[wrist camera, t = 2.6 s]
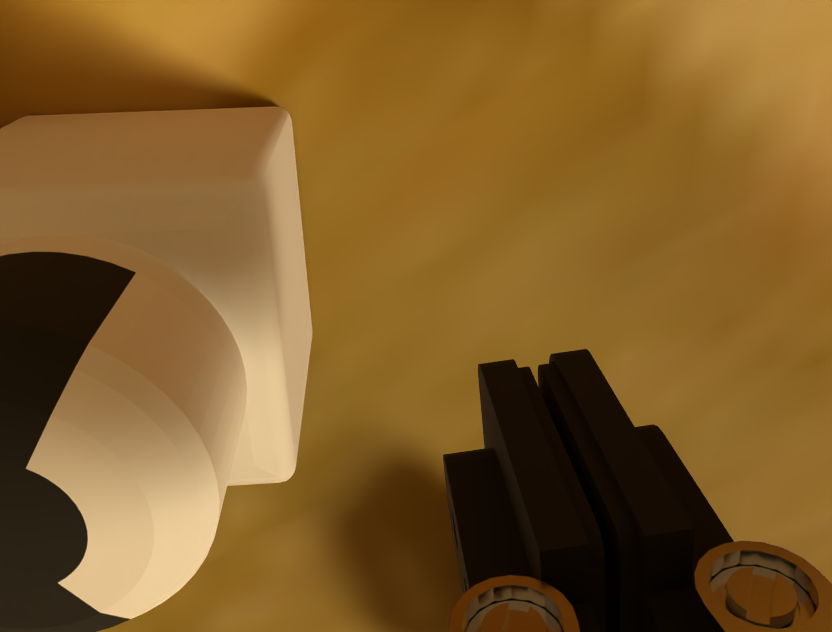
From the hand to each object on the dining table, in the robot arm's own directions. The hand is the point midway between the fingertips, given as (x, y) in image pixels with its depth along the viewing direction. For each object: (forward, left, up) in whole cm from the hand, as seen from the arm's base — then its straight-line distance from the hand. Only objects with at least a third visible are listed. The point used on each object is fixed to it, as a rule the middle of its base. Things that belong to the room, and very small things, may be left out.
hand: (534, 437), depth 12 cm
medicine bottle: (+8, 0, -11) cm, 14 cm away
